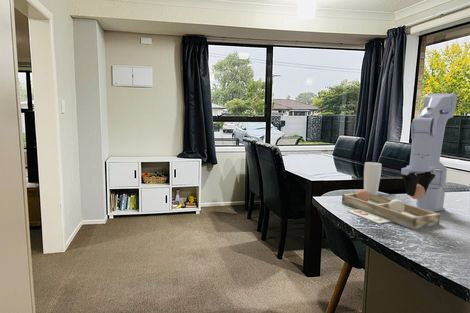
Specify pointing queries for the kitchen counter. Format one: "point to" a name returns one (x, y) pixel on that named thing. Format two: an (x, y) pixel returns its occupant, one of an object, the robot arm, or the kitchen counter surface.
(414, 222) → the two-well rack
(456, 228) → the kitchen counter surface
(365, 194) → the ball
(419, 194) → the terracotta ball
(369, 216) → the card
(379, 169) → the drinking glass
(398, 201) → the cream ball
